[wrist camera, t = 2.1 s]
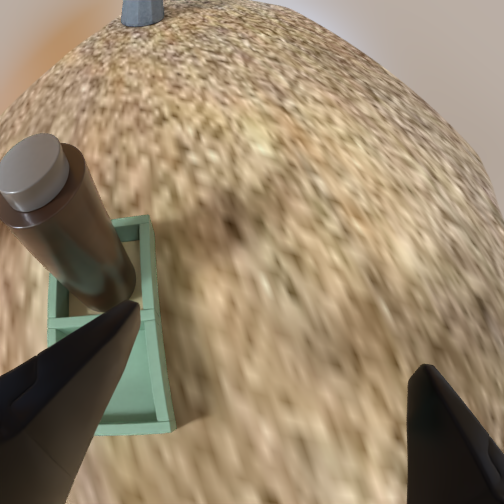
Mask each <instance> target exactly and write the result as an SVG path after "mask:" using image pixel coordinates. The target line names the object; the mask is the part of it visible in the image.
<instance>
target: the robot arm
mask: <svg viewBox="0 0 504 504" xmlns="http://www.w3.org/2000/svg"><path fill="white" fill-rule="evenodd" d="M140 325H141V315H140V304H139V303H138V302H135V301H132V300H128V299H127V300H124V301H123V302H121V303H119V304H118V305H116V306H114V307H113V308H111V309H109V310H108V311H106V312H104V313H103V314H101V315H100V316H98V317H96V318H95V319H93V320H91V321H90V322H88V323H87V324H85V325H83V326H82V327H80V328H79V329H77V330H75V331H74V332H72V333H71V334H69V335H67V336H66V337H64V338H63V339H61V340H59V341H58V342H56V343H55V344H53V345H51V346H50V347H48V348H47V349H45V350H44V351H42V352H40V353H39V354H38V355H37V356H34V357H32V358H31V359H29V360H28V361H26V362H24V363H23V364H21V365H19V366H18V367H16V368H14V369H13V370H11V371H9V372H7V373H5V374H3V375H1V376H0V504H65V502H66V499H67V497H68V494H69V492H70V490H71V487H72V485H73V482H74V479H75V477H76V475H77V472H78V470H79V468H80V465H81V463H82V461H83V458H84V456H85V454H86V452H87V449H88V447H89V445H90V443H91V440H92V438H93V436H94V434H95V432H96V429H97V427H98V425H99V423H100V421H101V419H102V416H103V414H104V412H105V410H106V408H107V406H108V404H109V402H110V399H111V397H112V395H113V393H114V391H115V389H116V387H117V385H118V383H119V381H120V379H121V377H122V375H123V372H124V370H125V368H126V365H127V362H128V359H129V356H130V354H131V351H132V348H133V345H134V343H135V340H136V337H137V335H138V332H139V329H140ZM407 453H408V483H407V504H504V454H503V453H502V451H501V450H500V449H499V447H498V446H497V445H496V444H495V442H494V441H493V439H492V438H491V437H489V434H488V433H487V431H486V430H485V429H484V428H483V426H482V425H481V424H480V422H479V421H478V420H477V418H476V417H475V416H474V415H473V413H472V412H471V411H470V409H469V408H468V407H467V406H466V404H465V403H464V402H463V401H462V399H461V398H460V397H459V396H458V394H457V393H456V392H455V391H454V389H453V388H452V387H451V386H450V384H449V383H448V382H447V381H446V380H445V378H444V377H443V376H442V375H441V374H440V372H439V371H438V370H437V369H436V368H435V366H433V365H431V364H422V365H421V366H420V367H419V368H418V369H417V370H416V371H415V373H414V374H413V375H412V376H411V377H410V379H409V381H408V397H407Z"/></svg>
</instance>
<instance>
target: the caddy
mask: <svg viewBox="0 0 504 504" xmlns="http://www.w3.org/2000/svg"><path fill="white" fill-rule="evenodd" d="M111 222H112V224H113V226H114V228H115V230H116V232H117V234H118V236H119V239H120V241H121V243H122V245H123V247H124V249H125V251H126V253H127V255H128V257H129V259H130V261H131V263H132V264H133V266H134V269H135V272H136V285H135V289H134V292H133V294H132V295H131V297H130V299H129V300H132V301H135V302H138V303H139V304H140V315H141V325H140V329H139V332H138V335H137V337H136V340H135V343H134V345H133V348H132V351H131V354H130V356H129V359H128V362H127V365H126V368H125V370H124V372H123V375H122V377H121V379H120V381H119V383H118V385H117V387H116V389H115V391H114V393H113V395H112V397H111V399H110V402H109V404H108V406H107V408H106V410H105V412H104V414H103V416H102V419H101V421H100V423H99V425H98V427H97V429H96V432H95V434H94V436H117V435H145V434H160V433H171V432H173V431H174V430H175V429H177V427H176V422H175V416H174V410H173V405H172V399H171V393H170V386H169V380H168V373H167V366H166V359H165V351H164V343H163V335H162V326H161V316H160V306H159V295H158V284H157V270H156V255H155V236H154V230H153V227H152V223H151V220H150V216H149V215H141V216H134V217H126V218H119V219H112V220H111ZM103 313H104V312H97V311H93V310H91V309H89V308H88V307H87V306H86V305H84V304H83V303H82V302H81V301H80V300H79V299H78V298H77V297H75V296H74V295H73V294H72V293H71V292H70V291H69V290H68V289H67V288H66V287H65V286H64V285H62V284H61V283H60V282H59V281H58V280H57V279H56V278H55V277H54V276H53V275H52V274H51V273H49V289H48V321H47V328H48V330H47V341H48V347H50V346H51V345H53V344H55V343H56V342H58V341H59V340H61V339H63V338H64V337H66V336H67V335H69V334H71V333H72V332H74V331H75V330H77V329H79V328H80V327H82V326H83V325H85V324H87V323H88V322H90V321H91V320H93V319H95V318H96V317H98V316H100V315H101V314H103Z"/></svg>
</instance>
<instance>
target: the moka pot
mask: <svg viewBox="0 0 504 504" xmlns="http://www.w3.org/2000/svg"><path fill="white" fill-rule="evenodd" d="M163 18H164V7H163V0H123V8H122V16H121V23H122V24H123V25H126V26H135V27H137V26H146V25H151V24H154V23H157V22H159V21H161V20H162V19H163Z"/></svg>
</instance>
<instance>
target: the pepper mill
mask: <svg viewBox="0 0 504 504" xmlns="http://www.w3.org/2000/svg"><path fill="white" fill-rule="evenodd" d="M0 219H1V220H2V222H3V223H4V224H5V225H6V226H7V228H8V229H9V230H10V231H11V232H12V233H13V234H14V235H15V237H16V238H17V239H18V240H19V241H20V242H21V243H22V244H23V245H24V246H25V247H26V248H27V250H28V251H29V252H30V253H31V254H32V255H33V256H34V257H35V258H36V259H37V260H38V261H39V262H40V263H41V264H42V265H43V266H44V267H45V268H46V269H47V270H48V271H49V272H50V273H51V274H52V275H53V276H54V277H55V278H56V279H57V280H58V281H59V282H60V283H61V284H62V285H64V286H65V287H66V288H67V289H68V290H69V291H70V292H71V293H72V294H73V295H74V296H75V297H77V298H78V299H79V300H80V301H81V302H82V303H83V304H84V305H86V306H87V307H88V308H89V309H91V310H93V311H97V312H106V311H108V310H109V309H111V308H113V307H114V306H116V305H118V304H119V303H121V302H123V301H124V300H127V299H128V300H129V299H130V297H131V295H132V294H133V292H134V289H135V285H136V272H135V269H134V266H133V264H132V263H131V261H130V259H129V257H128V255H127V253H126V251H125V249H124V247H123V245H122V243H121V241H120V239H119V236H118V234H117V232H116V230H115V228H114V226H113V224H112V222H111V220H110V217H109V215H108V213H107V211H106V209H105V206H104V204H103V202H102V200H101V197H100V195H99V193H98V191H97V188H96V186H95V183H94V181H93V179H92V176H91V174H90V171H89V169H88V167H87V164H86V162H85V159H84V157H83V155H82V153H81V152H80V151H79V150H78V149H77V148H76V147H74V146H72V145H70V144H66V143H60V142H59V140H58V139H57V138H56V137H55V136H54V135H52V134H48V133H40V134H35V135H32V136H29V137H27V138H25V139H23V140H22V141H20V142H19V143H17V144H16V145H15V146H13V147H12V148H11V149H10V150H9V151H8V152H7V154H6V155H5V156H4V157H3V159H2V160H1V162H0Z"/></svg>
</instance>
